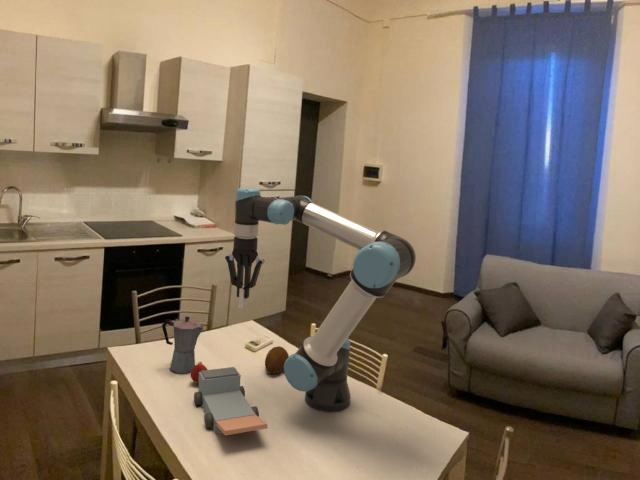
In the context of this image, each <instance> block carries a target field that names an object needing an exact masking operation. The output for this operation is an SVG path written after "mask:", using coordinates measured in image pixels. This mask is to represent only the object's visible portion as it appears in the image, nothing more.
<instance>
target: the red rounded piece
mask: <svg viewBox="0 0 640 480" xmlns="http://www.w3.org/2000/svg"><path fill="white" fill-rule="evenodd" d="M204 370H208V368H207V367H206V366H205V365H204V364H203V362H202V361H198V363H197V364H195V366H194V367H193V368H192V370H191V373H189V374H190V378H191V380H192V381H193V382H194V383H195V384H197V385H199V372H201V371H204Z"/></svg>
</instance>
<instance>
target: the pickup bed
mask: <svg viewBox="0 0 640 480" xmlns="http://www.w3.org/2000/svg"><path fill="white" fill-rule="evenodd" d="M241 377H242V376H241V374H240V372H239V371H238V370H237V368H236V367H235V366H231V367H222V368H213V369H207V370H204V371H201V372H199V384H198V386H197V387H198V389H197V390H198V391H196V392H194V394H193V401H194V405H195V406H201V407H202V410H203V411H204V416H203V419H204V420H203V421H204V427H205V429H210V428H211V429H212V430H213V433H214V434H219V433H222V431H221V430H220V429H219V428H218V427H217V426H216V421H220V420H226V419H232V418H239V417H245V416H251V415H257V416H258V417H259V416H260V412H259V408H258V406H257V405H255V406H252V405H250V403H249V402H248V400H247V399H246V392H245V391H246V390H245V386H243V385H242V386H241ZM259 418H260V417H259Z"/></svg>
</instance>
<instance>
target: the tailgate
mask: <svg viewBox="0 0 640 480" xmlns="http://www.w3.org/2000/svg"><path fill="white" fill-rule="evenodd" d="M216 426H217V427H218V428H219V429H220V430H221V431H222V432H221V433H222V434H223V435H224V436H229V435H235V434H237V435H238V434H241V433H247V432H248V433H249V432H253V431H259V430H264V429H268V423H267V422H265V421H264V420H263V419H262V418H260V417H258V416H257V415H251V416H245V417H239V418H232V419H226V420H220V421H216Z"/></svg>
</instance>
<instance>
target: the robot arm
mask: <svg viewBox="0 0 640 480" xmlns="http://www.w3.org/2000/svg"><path fill="white" fill-rule="evenodd" d="M234 203H235V205H234V206H235V211H234V212H235V214H234V215H235V217H234V219H235V220H234V229H233V231H234V233H233V235H234V237H233V249H232V251H231V253H230V254H228V255H226V256H225V257H224V259H225V260H226V262H227V266H228V267H227V268H228V272H229V277H230V282H231V283H230V284H231V286H234V287H236V297H237V298H239V299H238V309H242V310H243V309H244V308H246V307H247V299H248V298H249V297H250V291H251V290H250V289H252V288H254V287H256V285H257V281H258V278H259V275H260V271H261V268H262V266H263V265H264V263H265V259H263V258H260V256H259V253H258V251H257V250H258V240H259V239H258V235H259V223H260V222H265V223H271V224H275V225H288V224H289V223H290V222H292V221H296V222H299V223H301V224H303V225H305V226H308V227H310V228H312V229H314V230H316V231H318V232H321V233H322V234H324V235H326V236H328V237H331V238H332V239H335V240H337V241H339V242H341V243H343V244H346V245H348V246H350V247H352V248H354V249H357V250H358V251H357V253H356V255H355V256H354V260H353V263H352V269H351V271H350V273H349V277H350V281H349V283H348V285H347V286H346V287H345V288H344V291H343V292H342V293H341V295H340V296H339V298H338V300H337V301H336V302H335V304H334V305H333V306H332V308H331V310H330V311H329V312H328V314H327V316H326V317H325V318H324V320H323V321H322V323H321V325H320V326H319V327H318V329H317V331H316V332H315V334H313V336H308V337H305V339H304V341H303V342H302V343H301V345H300V347H299V348H298V349H297V351H296V352H295V353H293V354H290V355H289V357H288V358H287V359H286V361H285V364H284V370H283V372H284V373H285V374H284V376H285V378H286V380H287V382H288V383H289V385H290V386H291V387H292V388H294V389H295V390H297V391H299V392H303V393H304V392H305V394H304V401H305V403H306V404H307V405H308V406H309V407H311V408H312V409H315V410H318V411H323V412H329V413H330V412H339V411H343V410H346V409H348V408H349V406H350V404H351V399H352V398H351V392H350V387H349V384H348V372H349V363H350V362H349V361H350V354H351V353H350V352H351V351H350V350H351V339H349V337H350V336H351V334H352V333H353V331H354V330H355V329H356V327H357V326H358V324H359V323H360V322H361V321H362V319H363V318H364V316H365V314H366V313H367V312H368V311H369V309H370V308H371V306H372V305H373V304H374V302H375V301H376V299H381V298H384V297H385V296H386V295H387V293H389V291H390V289H391V288H392V286H393V285H394V284H395V282H397V280H399V279H401V278H403V277H405V276H407V275H408V274H409V273H411V271H412V270H413V268H414V267H415V264H416V258H417V257H416V251H415V249H414V247H413V245H411V243H410V242H409V241H408V240H406V239H405V238H403V237H401V236H398V235H396V234H393V233H392V232H389V231H387V230H381V231H379V230H376V229H374V228H371V227H369V226H367V225H365V224H362V223H360V222H358V221H356V220H352V219H351V218H349V217H346V216H344V215H342V214H339V213H337V212H335V211H332V210H330V209H327V208H325V207H323V206H321V205H319V204H316V203H314V202H313V201H312V199H311V198H310V197H309V196H306V195H295V196H286V197H285V196H284V197H266V196H262V195H261V190H260V189H258V188H255V187H254V188H253V187H240V188H238V189H237V190H236V195H235V201H234ZM235 261H236V263H235ZM254 262H255V266H254V268H253V267H252V266H253V263H254ZM235 264H236V265H235ZM252 268H253V272H252ZM236 269H237V270H236Z"/></svg>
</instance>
